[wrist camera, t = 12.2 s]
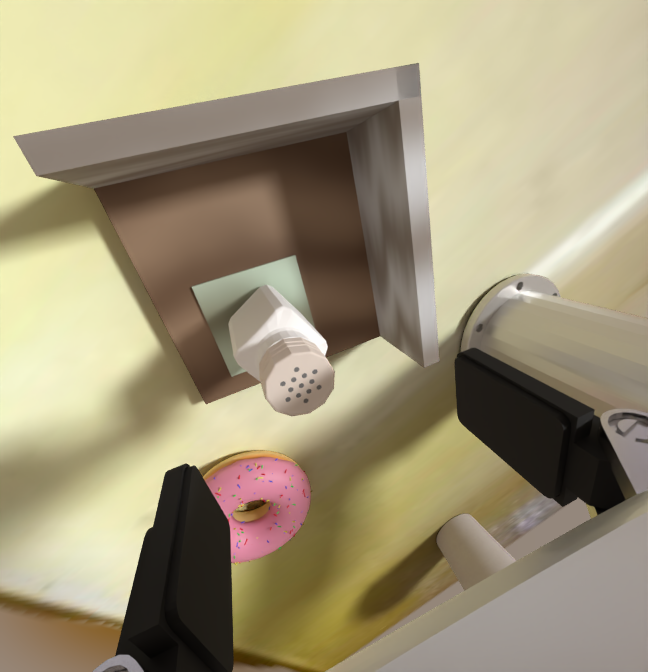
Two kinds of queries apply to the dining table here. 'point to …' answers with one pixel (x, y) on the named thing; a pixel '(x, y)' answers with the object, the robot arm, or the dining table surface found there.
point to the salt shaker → (281, 352)
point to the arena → (269, 212)
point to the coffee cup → (471, 550)
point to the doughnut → (260, 484)
